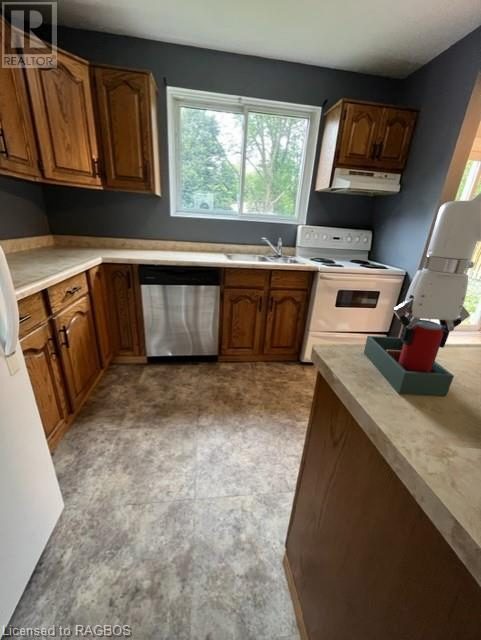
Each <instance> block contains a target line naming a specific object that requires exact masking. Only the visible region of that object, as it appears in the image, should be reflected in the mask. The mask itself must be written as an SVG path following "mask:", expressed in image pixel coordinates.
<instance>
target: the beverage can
mask: <svg viewBox="0 0 481 640" xmlns="http://www.w3.org/2000/svg"><path fill="white" fill-rule="evenodd" d="M413 329H414V334H413V338H412V341H411V345H409V346H408V345H405V344H403V347H402V351H401V355H400V359H399V362H398V363H399V364H400V365H401V366H402V367H403V368H404V369H405V370H406V371H410V372H427V373H431V370H432V367H433V365H434V362H436V358H437V355H438V353H439V350H440V348H441V347H440V344H441V341H442V337H443V331H442V326H441V325H440V323H437V322H436V321H435V322H434V321H432V320H428V319H420V320H419V321H418V322H417V323H416V324H415V325H414V327H413Z"/></svg>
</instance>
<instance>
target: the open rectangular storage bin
mask: <svg viewBox="0 0 481 640" xmlns="http://www.w3.org/2000/svg"><path fill="white" fill-rule="evenodd" d="M403 344H404V343H403V342H402V341H401V340H400V337H395V336H394V337H393V336H378V335H377V336H376V335H367V337H366V341H365V346H364V349H363V354H364V355H365V356H366V358H368V360H369V361H370V362H371V363H372V364H373V366H374V367H375V368H376V369H377V370H378V372H379V373H380V374H381V376H383V377H384V378H385V380H386V381H387V382H388V383H389V385H390V386H391V387H392V388H393V389H394V390H395V392H397V394H398V395H408V396H424V397H425V396H426V397H439V398H447V396H448V393H449V390H450V388H451V385H452V382H453V379H454V377H455V376H454V374H453V373H451V372H450V371H448V370H447V369H446V368H444V367H443V366H441V365H440V363H438V362H437V361H435V362H434V365H433V367H432V370H431V373H427V372H410V371H406V370H405V369H404V368H403V367H402V366H401V365H400V364H399V363H398V362H399V359H400V355H401V351H402V347H403Z"/></svg>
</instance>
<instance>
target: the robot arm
mask: <svg viewBox="0 0 481 640" xmlns="http://www.w3.org/2000/svg"><path fill="white" fill-rule="evenodd" d="M435 220H436V221H435V224H434V227H433V229H432V234H431V237H430V242H429V244H428V249H427V252H426V255H425V259H424V263H423V266H422V269H418V270H417V271H416V273H415V274H414V276H413V278H412V281H411V283H410V285H409V288H408V289H407V293H406V296H405V299H404V301H403V302H401V303H400V304H398V305H397V306H394V308H392V311H393V313H394V314H395V316H396V317H397V319H398V321H399V322H400V324H401V325H402V328H401V332H400V334H399V338H400V340H401V341H402V342H403V343H404V344H405V345H408V346H409V345H411V341H412V338H413V334H414V329H413V327H414V325H415V324H416V323H417V322H418V321H419V320H436V321H437V320H438V321H439V324H440V325H441V326H442V331H443V337H442V341H441V344H440V347H439V348H443V349H444V348H445V346H446V343H447V341H448V338H449V335H450V332H453V331H454V330H455V328H457V327H458V326H459V325H461V323H462V322H464V321H465V320H466V319H468V318H469V317H470V316H471V314H470V312H469V311H468V310H467V308H466V307H465V306H464V303H465V299H466V297H467V292H468V291H467V290H468V284H469V275H468V274H467V273H468V270H469V269H472V268H474V266H475V263H474V262H473V261H472V258H473V255H474V252H475V250H476V246H477V243H478V242H481V191H480V192H479V193H478V194H476V195H475V196H474V197H473V198H472V199H471V200H452V201H446V202H445V203H443V204H442V205H441V206H440V208H439V209H438V213H437V216H436V219H435ZM404 312H405V313H406V315H405V313H404Z"/></svg>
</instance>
